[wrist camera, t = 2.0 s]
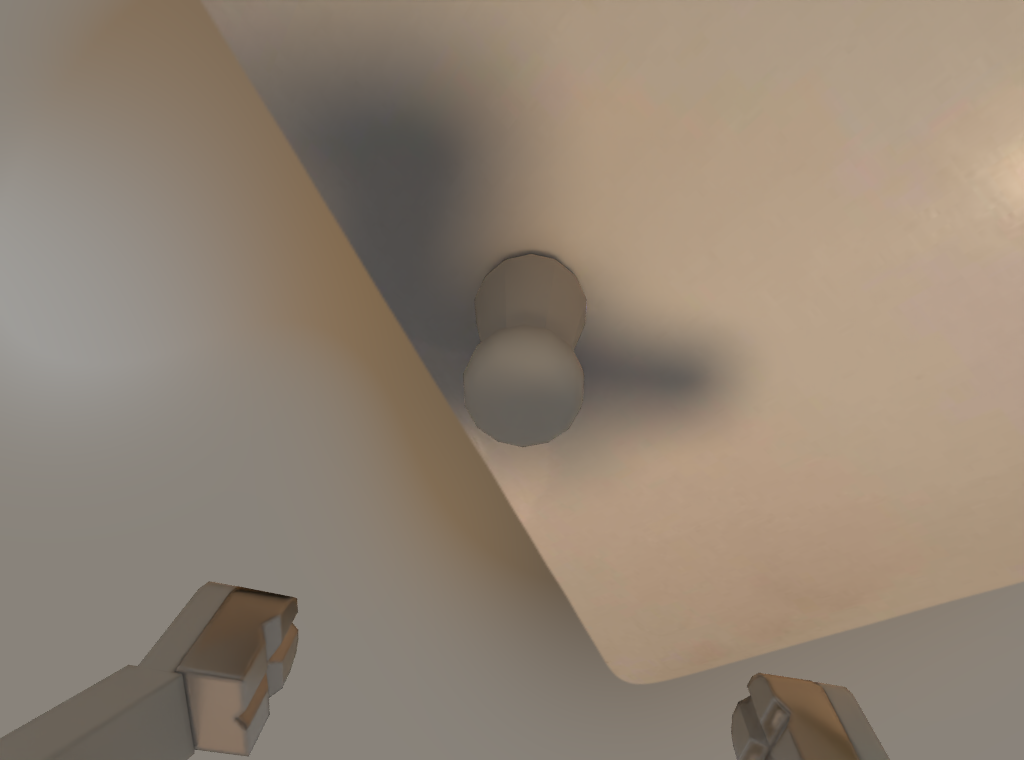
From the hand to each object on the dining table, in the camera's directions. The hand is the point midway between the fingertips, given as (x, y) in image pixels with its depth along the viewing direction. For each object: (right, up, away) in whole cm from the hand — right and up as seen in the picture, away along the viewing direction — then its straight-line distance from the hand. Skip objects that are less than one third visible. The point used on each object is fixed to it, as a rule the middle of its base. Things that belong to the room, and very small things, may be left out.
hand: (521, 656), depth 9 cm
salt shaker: (+1, +10, +20) cm, 22 cm away
